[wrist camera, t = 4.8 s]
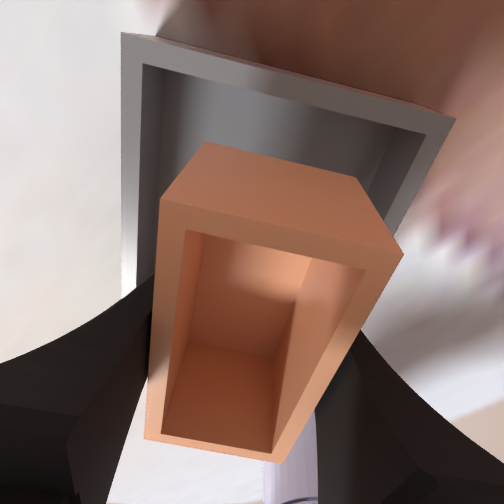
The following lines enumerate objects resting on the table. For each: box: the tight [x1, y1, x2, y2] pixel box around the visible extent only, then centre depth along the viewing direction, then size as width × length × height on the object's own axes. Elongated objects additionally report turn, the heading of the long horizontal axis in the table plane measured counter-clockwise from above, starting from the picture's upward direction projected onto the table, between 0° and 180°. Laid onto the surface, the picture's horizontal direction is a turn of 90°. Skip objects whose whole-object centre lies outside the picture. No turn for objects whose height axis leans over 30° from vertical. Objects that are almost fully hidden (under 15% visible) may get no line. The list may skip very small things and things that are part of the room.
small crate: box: [144, 141, 404, 464], centre depth 12 cm, size 10×5×5 cm, turn 168°
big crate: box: [121, 32, 456, 298], centre depth 18 cm, size 15×13×4 cm
